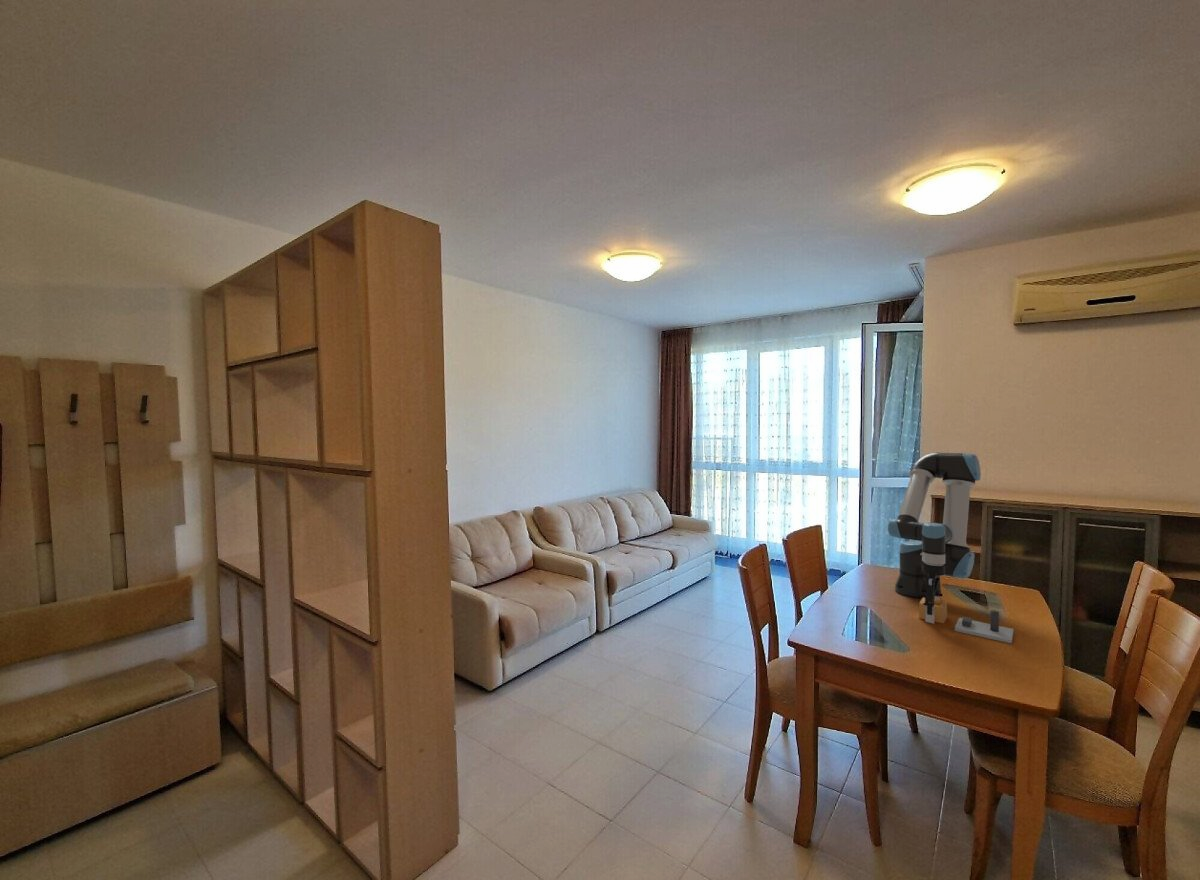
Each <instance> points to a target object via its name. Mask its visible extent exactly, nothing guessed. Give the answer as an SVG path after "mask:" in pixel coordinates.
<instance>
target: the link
mask: <svg viewBox="0 0 1200 880" xmlns="http://www.w3.org/2000/svg"><path fill="white" fill-rule="evenodd" d="M923 603H925V598H921V599H920V601H919V603H918V619H921V620H925V621H926V605H923ZM928 603H931V602H928ZM947 618H948V602H947V601H943V600H940V601H939V600H934V623H939V624H942V625H943V624H945V622H946V620H947Z"/></svg>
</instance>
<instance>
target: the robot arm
mask: <svg viewBox="0 0 1200 880" xmlns="http://www.w3.org/2000/svg"><path fill="white" fill-rule="evenodd" d="M908 477H909V478H910V479H909V482H908V486H907V487H906V492H905V494H904V497H903V500H902V504H901V507H900V510H899V513H898V516H897V519H893V518H892V519H890V520H889V521H888V525H887V532H888V534H889V535H890V537H894V538H899V539H905V540H906V541H903V542H901V543H900V544H899V551H898V553H899V574H898V577H897V579H896V582H895V584H894V591H895V592H896V593H898V594H900V595H902V596H906V597H910V598H916V599H922V598H925V603H923V605H926V620H925V623H929V624H933V625H934V624H935V622H934V600H939V601H941V597H943V593H942V589H941V588H942V587H941V576H945V577H946V576H947V577H951V578H955V579H956V578H957V579H967V578H969V576H971V573H972V572H973V569H974V568H973V567H974V565H975V553H974V552H973V551H971V547H970V546H969V545H968V543H967V535H968V522H969V508H970V499H971V497H970V496H971V488H973V487H974V486H976V482H978V481H981V466H980V461H979V458H978V456H977V455H976V454H974V453H966V452H937V451H936V452H932V453H928V454H925V455H923V456H922V457H920V458H919V459H918V460H916V461H915V463H914V464H913V465H912V466H911V469H910V471H909V474H908ZM935 479H942V481H941V482H942V483H943V485H945V495H944V508H943V520H942V523H938V522H919V521H920V516H921V514H922V510H923V507H924V504H925V500H926V497H927V494H928V492H929V491H928V490H929V487H930V485H931V483H933V482H934V481H935ZM928 602H931V603H928Z"/></svg>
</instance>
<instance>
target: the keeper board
mask: <svg viewBox="0 0 1200 880" xmlns="http://www.w3.org/2000/svg"><path fill="white" fill-rule="evenodd" d="M989 615H990V617H989V618H990V620H989V621H990V622H989V623H987V622H983V621H978V620H977V621H976V620H973V618H972V617H969V616H963V617H958V620H957V622H956V624H955V625H954V631H955V632H959V633H964V634H968V635H971V636H977V637H981V638H985V639H988V640H989V639H990V640H993V641H994V640H995V641H998V642H999V641H1000V642H1003V643H1008V644H1011V645H1012V643H1013V639H1014V638H1013V637H1014V628H1011V627H1006V626H1001V625H1000V611H998V610H996V609H995V610H994V609H991V610H990V614H989Z"/></svg>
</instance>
